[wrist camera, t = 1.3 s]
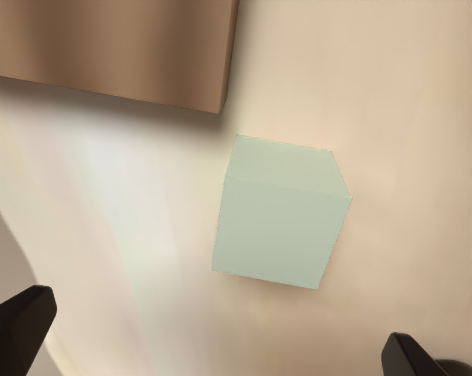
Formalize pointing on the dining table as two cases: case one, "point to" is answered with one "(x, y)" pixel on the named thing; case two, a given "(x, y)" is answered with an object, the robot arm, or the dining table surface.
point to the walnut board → (123, 47)
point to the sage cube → (279, 212)
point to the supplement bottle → (455, 368)
